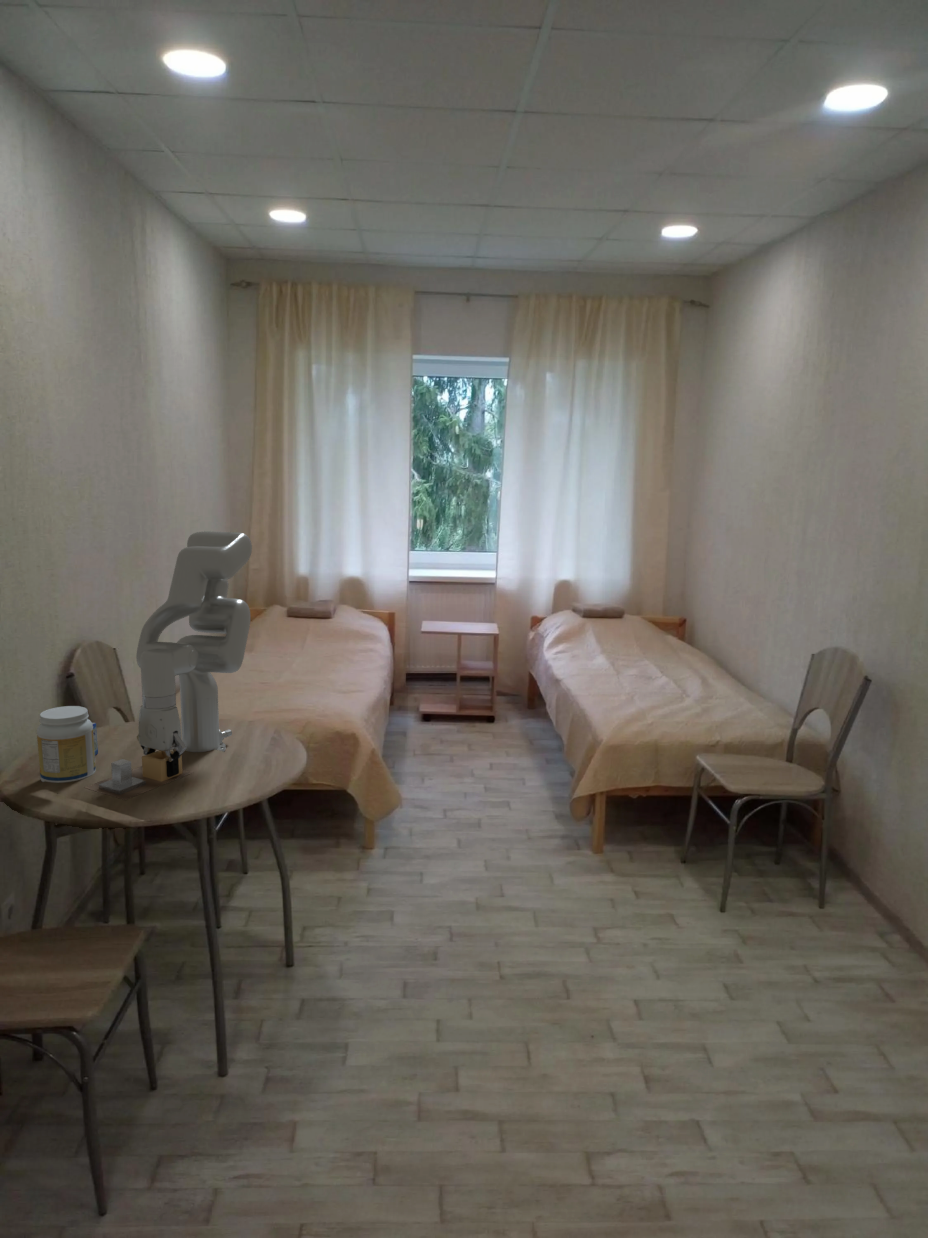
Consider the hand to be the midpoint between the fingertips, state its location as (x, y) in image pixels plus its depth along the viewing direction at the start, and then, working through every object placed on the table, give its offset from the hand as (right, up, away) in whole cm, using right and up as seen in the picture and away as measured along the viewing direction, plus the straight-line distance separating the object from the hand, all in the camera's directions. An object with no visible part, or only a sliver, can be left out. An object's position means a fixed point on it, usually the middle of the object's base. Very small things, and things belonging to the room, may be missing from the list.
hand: (162, 771), depth 199 cm
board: (-4, -3, -3) cm, 6 cm away
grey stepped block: (-7, -2, -8) cm, 10 cm away
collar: (0, -1, 0) cm, 1 cm away
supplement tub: (-23, -2, 0) cm, 23 cm away
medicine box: (-26, +1, +15) cm, 30 cm away
